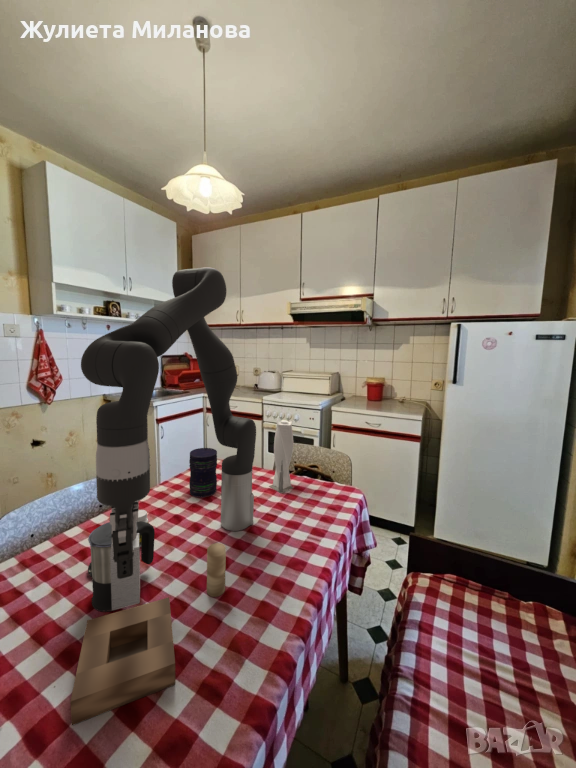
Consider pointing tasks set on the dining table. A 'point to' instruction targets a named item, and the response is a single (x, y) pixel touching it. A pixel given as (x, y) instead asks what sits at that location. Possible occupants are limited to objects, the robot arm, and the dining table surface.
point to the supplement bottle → (142, 517)
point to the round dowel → (216, 569)
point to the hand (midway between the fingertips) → (126, 566)
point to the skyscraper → (282, 455)
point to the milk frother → (101, 560)
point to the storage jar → (203, 472)
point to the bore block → (123, 659)
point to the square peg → (126, 581)
